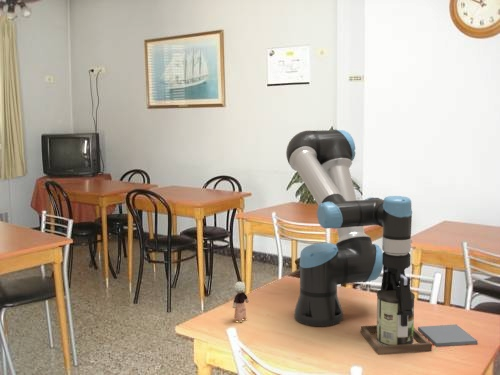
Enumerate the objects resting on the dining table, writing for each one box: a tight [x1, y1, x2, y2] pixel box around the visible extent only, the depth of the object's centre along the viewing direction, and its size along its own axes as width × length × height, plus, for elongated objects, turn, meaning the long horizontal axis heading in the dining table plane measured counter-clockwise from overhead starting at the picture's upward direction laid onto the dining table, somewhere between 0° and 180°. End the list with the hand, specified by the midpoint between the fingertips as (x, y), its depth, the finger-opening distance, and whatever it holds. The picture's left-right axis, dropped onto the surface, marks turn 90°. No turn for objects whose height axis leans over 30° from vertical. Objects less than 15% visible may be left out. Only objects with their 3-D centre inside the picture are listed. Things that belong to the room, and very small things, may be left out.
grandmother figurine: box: [232, 281, 249, 323], centre depth 170 cm, size 8×4×13 cm, turn 156°
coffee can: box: [375, 289, 416, 346], centre depth 153 cm, size 10×10×14 cm
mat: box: [417, 324, 478, 348], centre depth 156 cm, size 12×12×1 cm
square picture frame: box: [360, 324, 433, 355], centre depth 153 cm, size 15×15×2 cm
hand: (394, 328), depth 153 cm, fingers closed on coffee can, 10 cm apart
